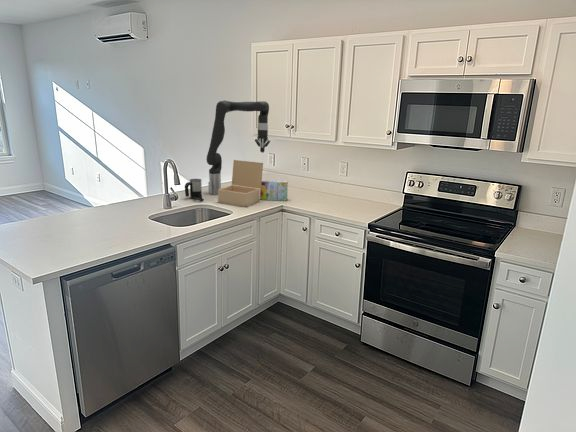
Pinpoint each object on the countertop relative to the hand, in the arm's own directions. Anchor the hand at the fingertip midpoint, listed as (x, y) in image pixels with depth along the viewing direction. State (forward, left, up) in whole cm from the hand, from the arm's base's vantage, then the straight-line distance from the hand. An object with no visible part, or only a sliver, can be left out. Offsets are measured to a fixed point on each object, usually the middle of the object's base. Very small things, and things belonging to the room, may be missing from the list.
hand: (262, 152), depth 296 cm
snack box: (+8, +4, -37) cm, 38 cm away
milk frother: (-43, -26, -37) cm, 62 cm away
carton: (-11, -16, -37) cm, 42 cm away
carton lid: (-11, -5, -17) cm, 21 cm away
